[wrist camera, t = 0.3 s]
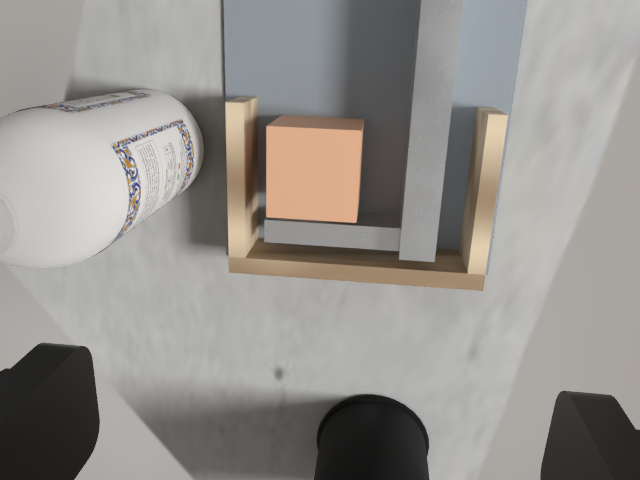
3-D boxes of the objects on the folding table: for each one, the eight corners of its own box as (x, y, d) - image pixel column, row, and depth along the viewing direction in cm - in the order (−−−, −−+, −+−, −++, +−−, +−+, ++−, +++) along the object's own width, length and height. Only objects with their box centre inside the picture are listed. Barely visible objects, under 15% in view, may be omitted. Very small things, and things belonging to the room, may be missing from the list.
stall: (242, 96, 34) (225, 102, 30) (493, 107, 33) (508, 115, 29) (244, 249, 37) (229, 272, 34) (472, 265, 36) (482, 290, 32)
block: (282, 114, 34) (266, 125, 29) (364, 118, 33) (361, 130, 29) (281, 194, 36) (266, 217, 31) (359, 199, 35) (356, 222, 30)
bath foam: (81, 148, 36) (-243, 259, 17) (139, 64, 34) (-160, 86, 15) (166, 217, 37) (-54, 393, 18) (228, 139, 35) (50, 247, 16)
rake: (275, -47, 31) (258, -61, 27) (457, -43, 30) (469, -57, 26) (273, 226, 36) (259, 250, 32) (428, 236, 35) (434, 262, 31)
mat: (222, -81, 31) (221, -82, 31) (537, -76, 29) (538, -77, 29) (229, 255, 38) (229, 256, 37) (487, 273, 36) (487, 274, 36)
